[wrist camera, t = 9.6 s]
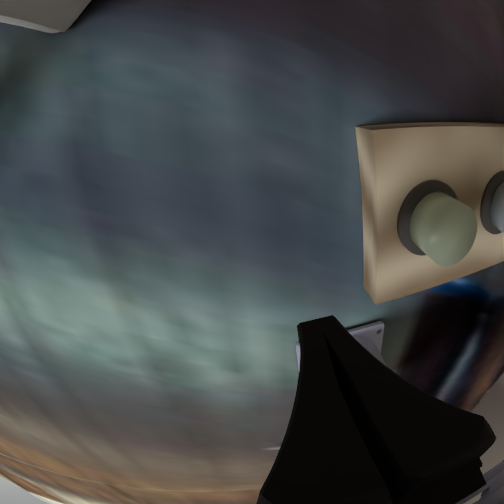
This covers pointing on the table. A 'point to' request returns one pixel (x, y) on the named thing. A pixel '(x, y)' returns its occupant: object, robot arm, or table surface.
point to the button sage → (443, 228)
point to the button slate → (498, 208)
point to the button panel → (415, 189)
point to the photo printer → (42, 13)
